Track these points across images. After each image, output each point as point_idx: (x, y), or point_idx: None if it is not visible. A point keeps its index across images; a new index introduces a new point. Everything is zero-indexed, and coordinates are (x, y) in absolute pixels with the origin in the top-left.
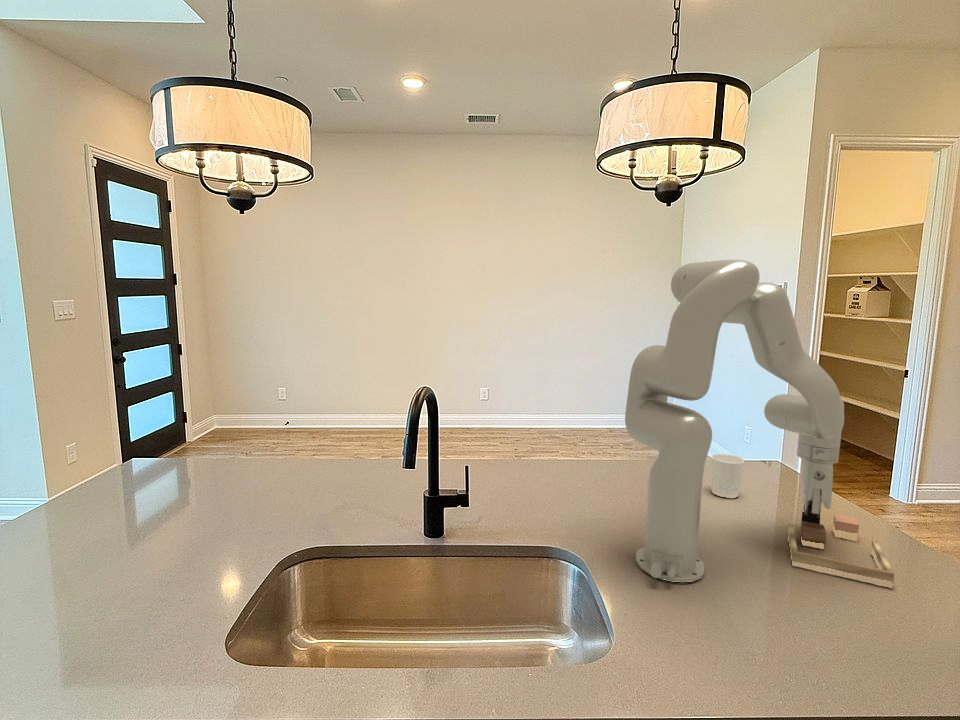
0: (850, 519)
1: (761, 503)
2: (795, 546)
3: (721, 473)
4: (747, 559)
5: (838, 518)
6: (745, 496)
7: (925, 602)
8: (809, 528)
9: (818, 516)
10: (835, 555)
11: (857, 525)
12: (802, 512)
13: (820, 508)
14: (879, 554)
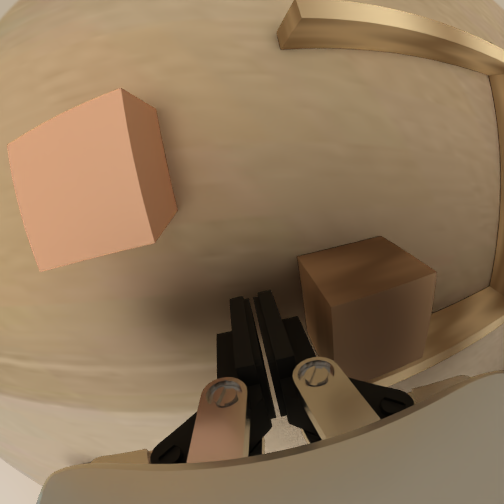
0: (46, 163)
1: (81, 432)
2: (501, 319)
3: None
4: (477, 360)
5: (89, 237)
6: (79, 452)
7: (488, 19)
8: (418, 341)
9: (335, 369)
10: (398, 192)
11: (123, 98)
12: (271, 426)
13: (376, 417)
14: (456, 42)
